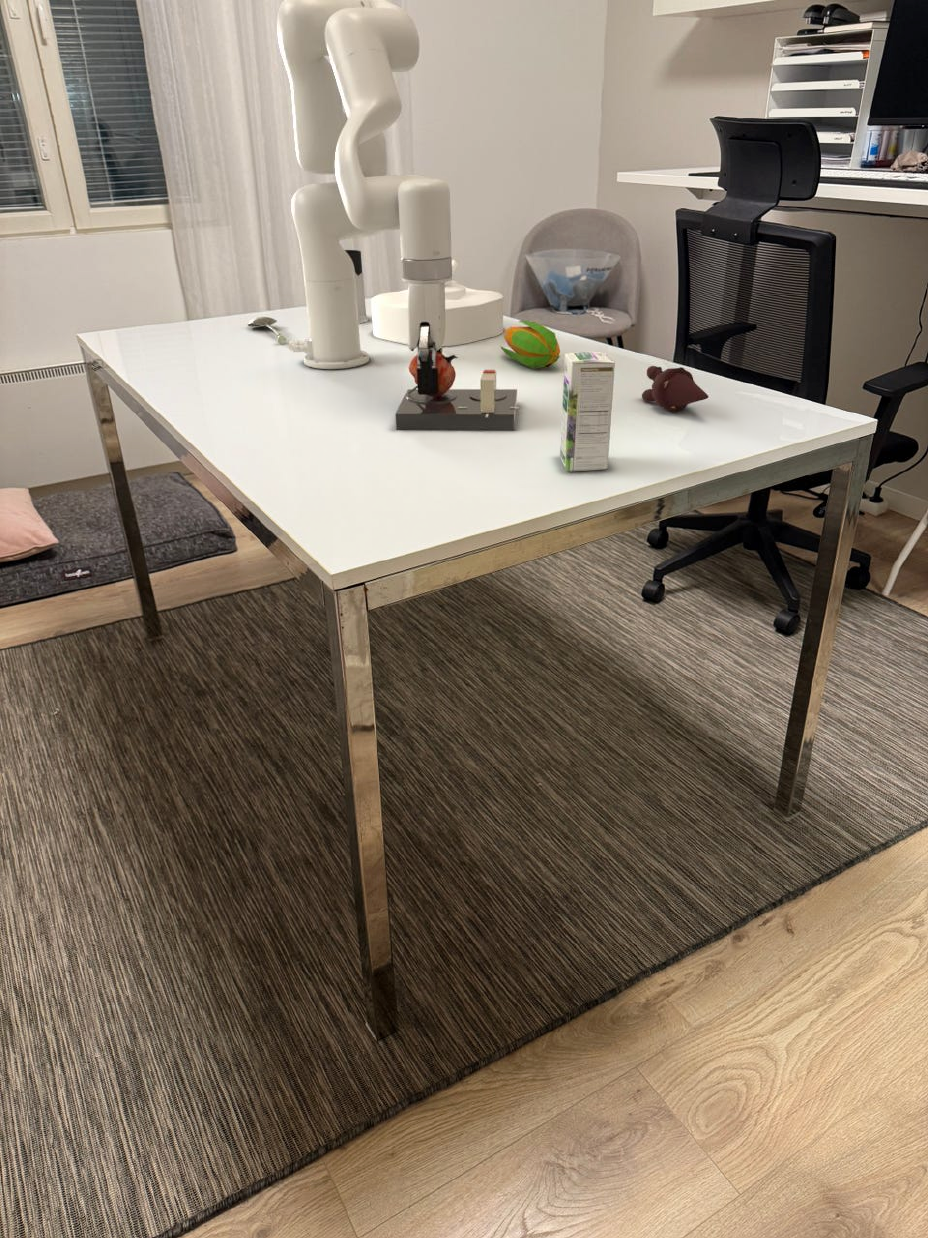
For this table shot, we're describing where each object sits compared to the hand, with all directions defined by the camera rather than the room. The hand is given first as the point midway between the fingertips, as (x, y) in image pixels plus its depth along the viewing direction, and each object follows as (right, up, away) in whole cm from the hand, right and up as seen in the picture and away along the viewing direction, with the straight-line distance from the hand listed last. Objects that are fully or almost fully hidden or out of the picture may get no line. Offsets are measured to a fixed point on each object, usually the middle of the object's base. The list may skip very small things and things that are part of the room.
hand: (431, 386), depth 147 cm
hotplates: (+4, -2, 0) cm, 4 cm away
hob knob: (+9, -5, -6) cm, 12 cm away
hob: (+4, -5, -1) cm, 7 cm away
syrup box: (+22, -16, -21) cm, 34 cm away
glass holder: (-21, +34, +71) cm, 81 cm away
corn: (+17, +12, +30) cm, 37 cm away
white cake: (0, +26, +55) cm, 61 cm away
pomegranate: (0, -1, +1) cm, 2 cm away
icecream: (+39, -4, 0) cm, 39 cm away
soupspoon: (-37, +25, +56) cm, 72 cm away
